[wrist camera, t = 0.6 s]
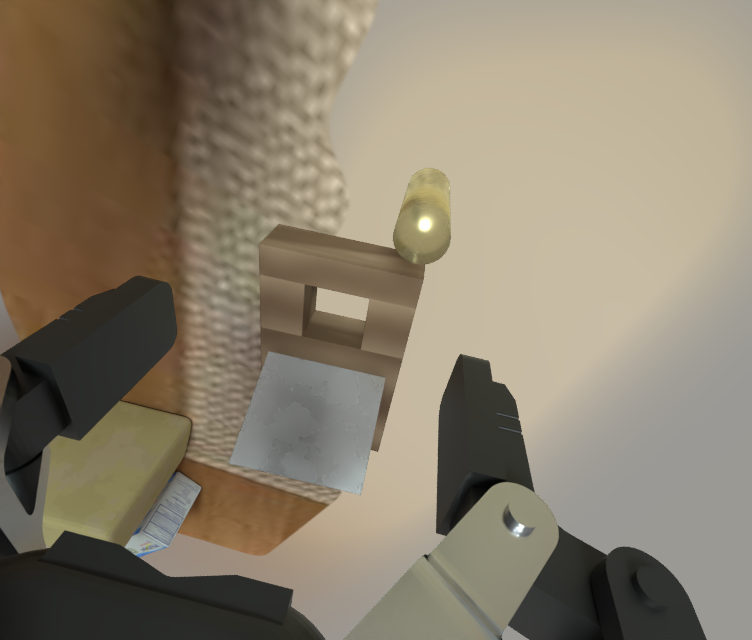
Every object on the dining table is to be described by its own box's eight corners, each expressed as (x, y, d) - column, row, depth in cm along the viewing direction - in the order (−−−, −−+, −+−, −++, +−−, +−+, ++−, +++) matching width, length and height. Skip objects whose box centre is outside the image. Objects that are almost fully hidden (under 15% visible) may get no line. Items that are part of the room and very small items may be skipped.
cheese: (21, 394, 50) (-117, 504, 38) (11, 342, 44) (-155, 451, 32) (185, 458, 53) (105, 580, 40) (195, 417, 47) (106, 544, 35)
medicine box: (179, 469, 54) (138, 531, 47) (203, 486, 56) (168, 549, 49) (150, 484, 58) (109, 543, 51) (174, 499, 59) (137, 559, 52)
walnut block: (279, 224, 31) (259, 244, 28) (426, 255, 30) (423, 279, 27) (276, 396, 42) (262, 424, 39) (383, 420, 42) (377, 451, 39)
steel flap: (270, 355, 33) (268, 351, 32) (384, 381, 33) (385, 377, 32) (232, 464, 29) (228, 463, 28) (360, 494, 29) (360, 494, 28)
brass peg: (412, 164, 27) (399, 204, 20) (455, 172, 27) (457, 217, 19) (403, 206, 29) (388, 258, 21) (443, 214, 28) (442, 269, 21)
